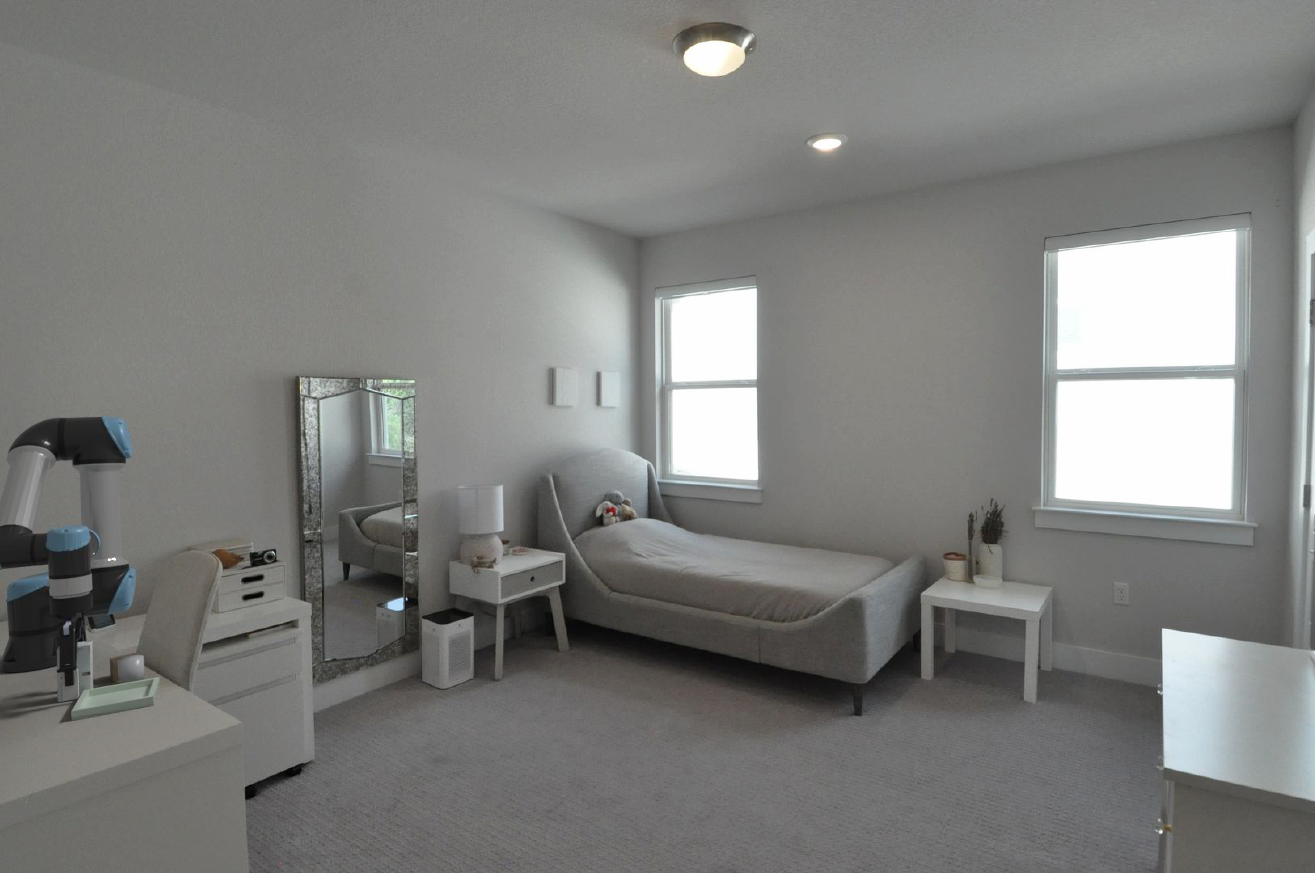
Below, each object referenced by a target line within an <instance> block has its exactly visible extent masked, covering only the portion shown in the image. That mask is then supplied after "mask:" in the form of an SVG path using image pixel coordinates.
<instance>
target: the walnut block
mask: <svg viewBox="0 0 1315 873" xmlns="http://www.w3.org/2000/svg"><path fill="white" fill-rule="evenodd" d="M132 655H137V654H136V652H130V653H126V654H121V655H117V656H113V657H109V672H110V673H109V674H110V679H111V681H112V682H113V683H114V684H115V683H119V682H118V681H119V680H118V660H119V659H121V658H123V657H127V656H132Z"/></svg>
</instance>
